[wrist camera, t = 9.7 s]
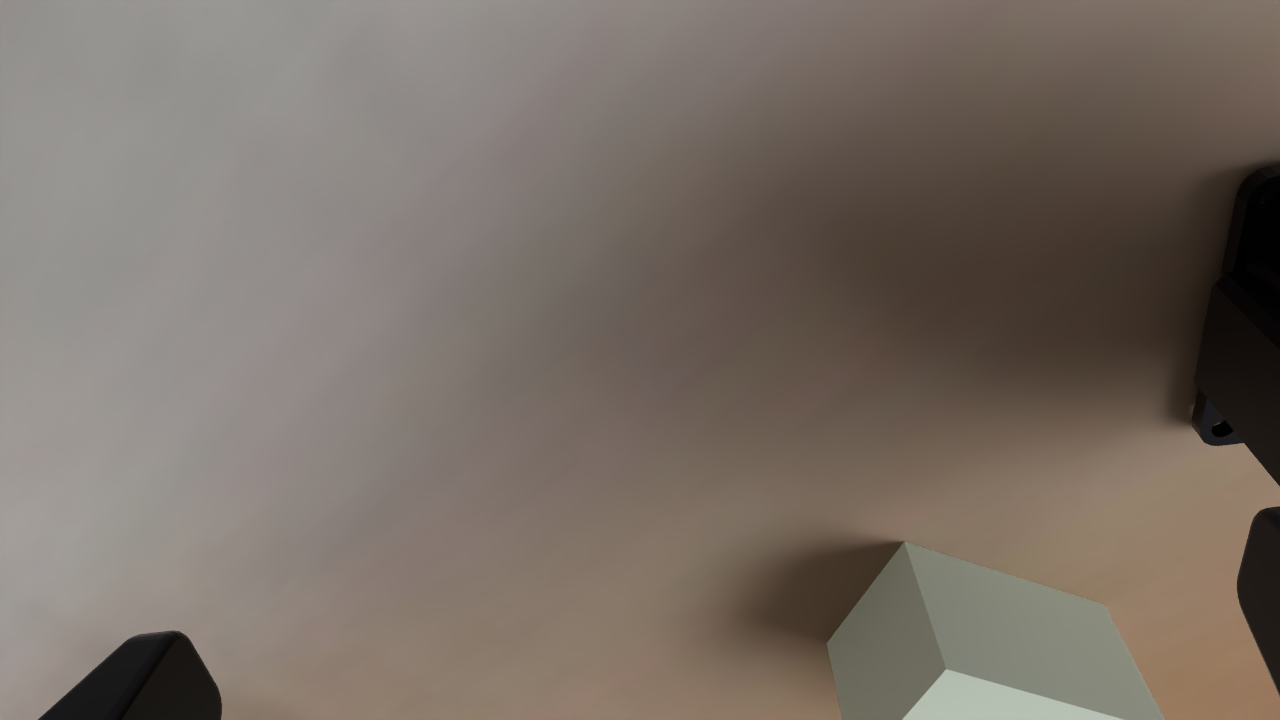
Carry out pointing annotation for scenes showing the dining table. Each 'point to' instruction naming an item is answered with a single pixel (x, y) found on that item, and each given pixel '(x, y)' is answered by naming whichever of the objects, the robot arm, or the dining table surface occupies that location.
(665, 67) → the dining table surface
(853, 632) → the sage brick
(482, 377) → the dining table surface
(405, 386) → the dining table surface
